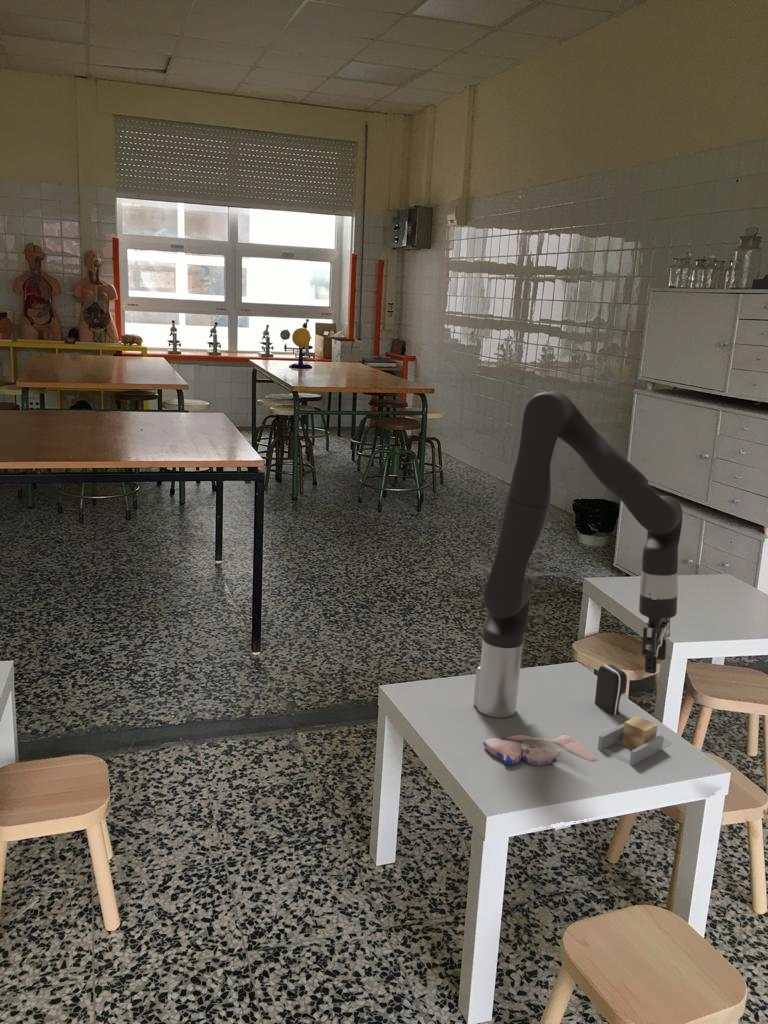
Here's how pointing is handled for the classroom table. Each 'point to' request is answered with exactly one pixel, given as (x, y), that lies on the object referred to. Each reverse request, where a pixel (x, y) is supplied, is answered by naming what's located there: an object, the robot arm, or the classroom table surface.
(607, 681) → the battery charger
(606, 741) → the channel
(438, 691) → the classroom table surface
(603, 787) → the classroom table surface
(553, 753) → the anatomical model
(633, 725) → the oak block
